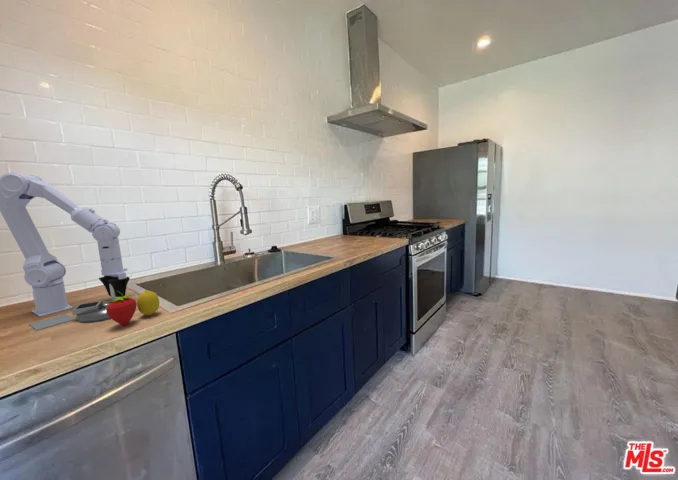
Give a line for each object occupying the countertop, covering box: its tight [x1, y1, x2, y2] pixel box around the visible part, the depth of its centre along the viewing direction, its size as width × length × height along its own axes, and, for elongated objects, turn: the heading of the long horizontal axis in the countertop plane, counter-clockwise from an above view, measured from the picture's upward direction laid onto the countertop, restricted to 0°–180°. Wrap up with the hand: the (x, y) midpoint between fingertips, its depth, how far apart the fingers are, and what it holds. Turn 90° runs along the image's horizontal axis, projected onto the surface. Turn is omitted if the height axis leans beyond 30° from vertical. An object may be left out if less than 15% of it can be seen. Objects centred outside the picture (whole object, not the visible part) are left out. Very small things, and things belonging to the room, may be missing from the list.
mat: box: [28, 314, 75, 332], centre depth 84 cm, size 8×8×1 cm
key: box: [109, 283, 116, 300], centre depth 100 cm, size 3×3×7 cm
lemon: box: [136, 289, 160, 317], centre depth 85 cm, size 6×6×8 cm
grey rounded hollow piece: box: [71, 299, 114, 324], centre depth 89 cm, size 14×14×4 cm
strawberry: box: [106, 291, 137, 327], centre depth 79 cm, size 6×8×10 cm
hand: (117, 296), depth 100 cm, fingers open, 6 cm apart
